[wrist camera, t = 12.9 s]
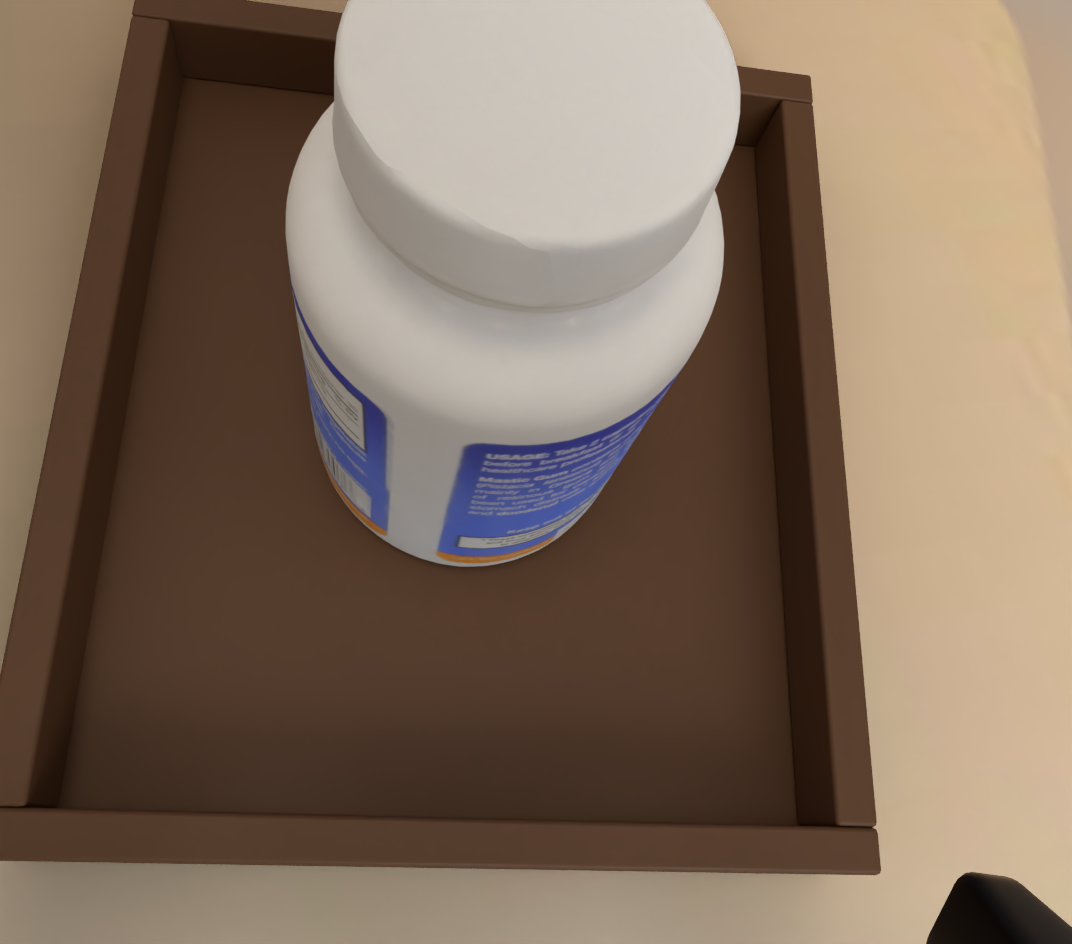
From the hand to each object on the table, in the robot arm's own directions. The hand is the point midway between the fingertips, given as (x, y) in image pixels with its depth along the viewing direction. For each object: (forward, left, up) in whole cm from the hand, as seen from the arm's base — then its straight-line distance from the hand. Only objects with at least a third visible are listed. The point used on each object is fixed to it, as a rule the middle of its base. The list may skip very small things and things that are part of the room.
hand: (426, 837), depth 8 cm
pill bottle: (+4, -5, -9) cm, 11 cm away
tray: (+5, -6, -9) cm, 12 cm away
